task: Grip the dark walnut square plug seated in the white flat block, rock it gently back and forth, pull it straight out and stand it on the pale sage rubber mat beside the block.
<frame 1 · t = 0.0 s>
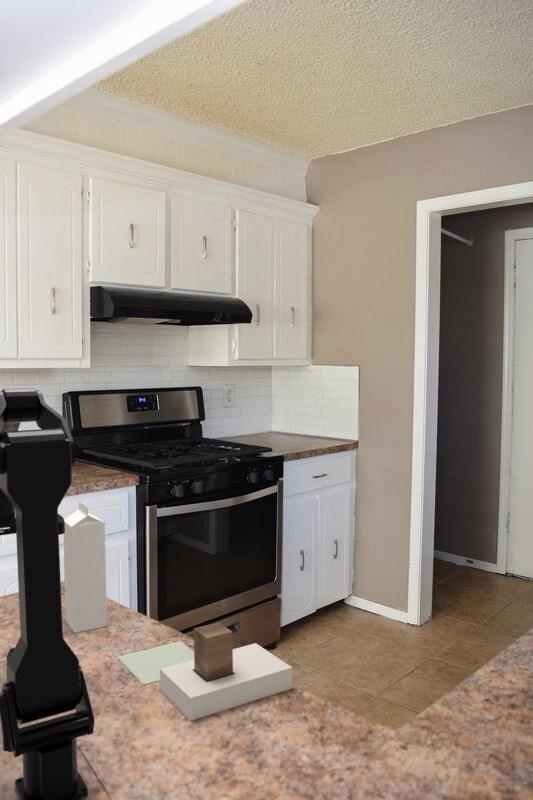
mat: (163, 664, 106), on the countertop
milk: (86, 625, 123), on the countertop
plug: (213, 692, 96), resting on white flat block
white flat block: (226, 692, 97), on the countertop
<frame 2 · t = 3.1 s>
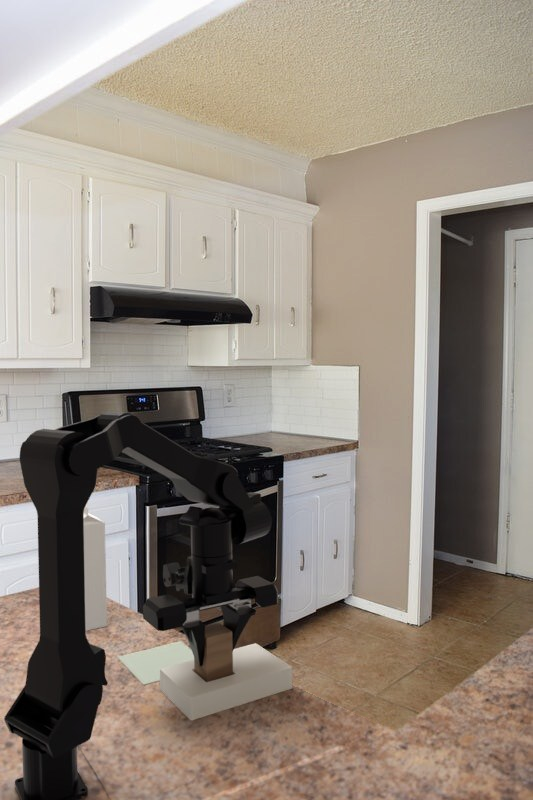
hand: (213, 661, 96), 5 cm above the countertop, tool pointing down, fingers closed on plug, 4 cm apart
plug: (213, 692, 96), point 1 cm above the countertop, touching gripper, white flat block
everything else where it was.
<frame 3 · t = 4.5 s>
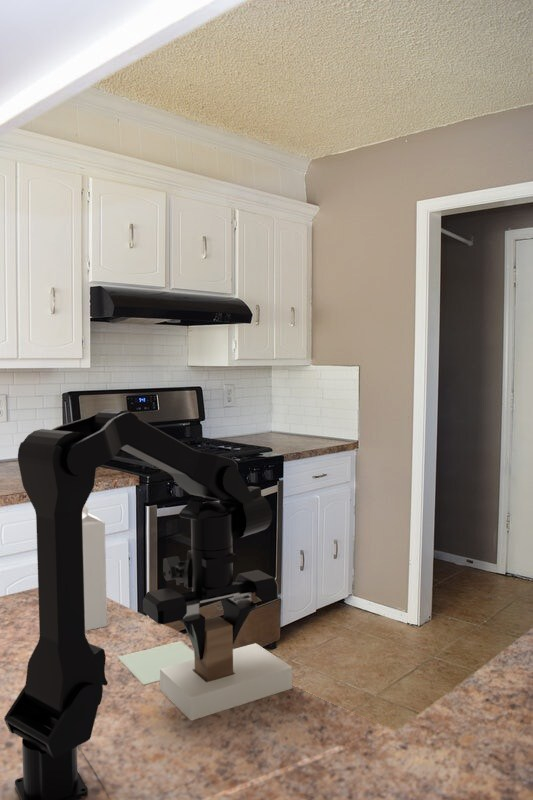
hand: (213, 654, 96), 6 cm above the countertop, tool pointing down, fingers closed on plug, 4 cm apart
plug: (214, 686, 96), point 1 cm above the countertop, touching gripper
everything else where it was.
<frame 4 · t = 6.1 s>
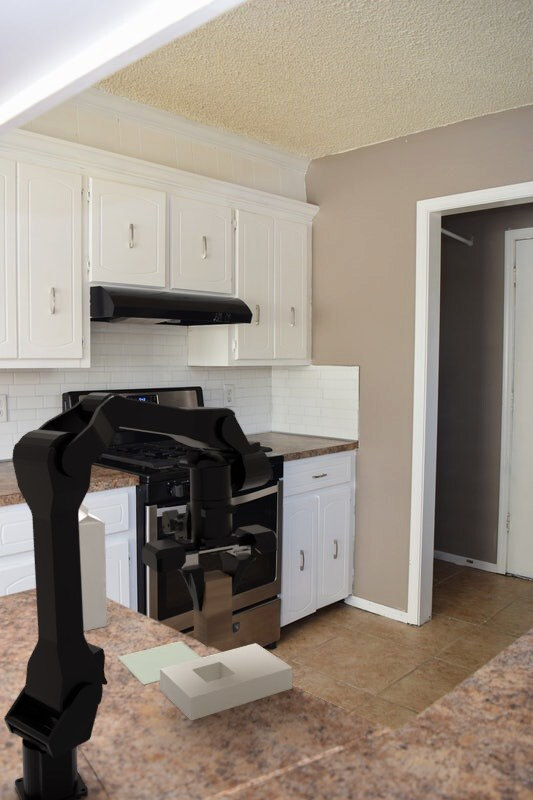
hand: (212, 607, 95), 13 cm above the countertop, tool pointing down, fingers closed on plug, 4 cm apart
plug: (213, 638, 95), point 8 cm above the countertop, touching gripper
everything else where it was.
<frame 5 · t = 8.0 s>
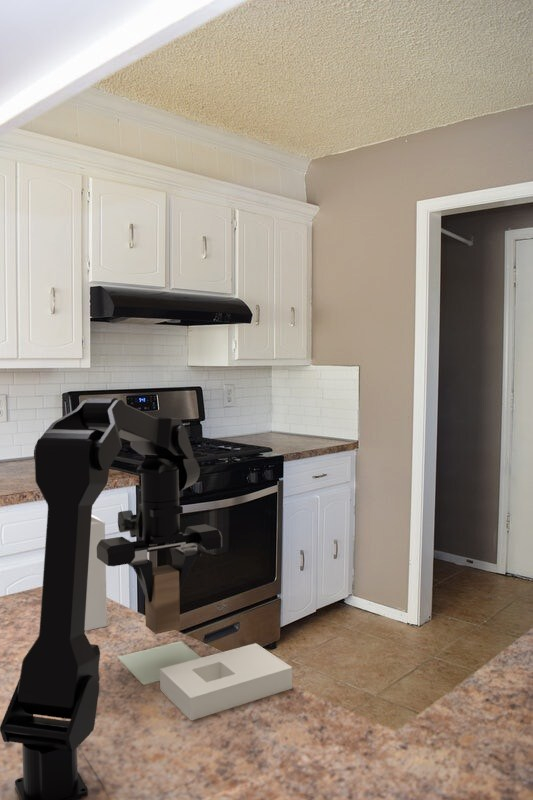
hand: (162, 598, 105), 11 cm above the countertop, tool pointing down, fingers closed on plug, 4 cm apart
plug: (162, 627, 105), point 6 cm above the countertop, touching gripper
everything else where it was.
when the fingers open (6 cm above the countertop, at t = 9.4 s): plug drops 1 cm, resting on mat.
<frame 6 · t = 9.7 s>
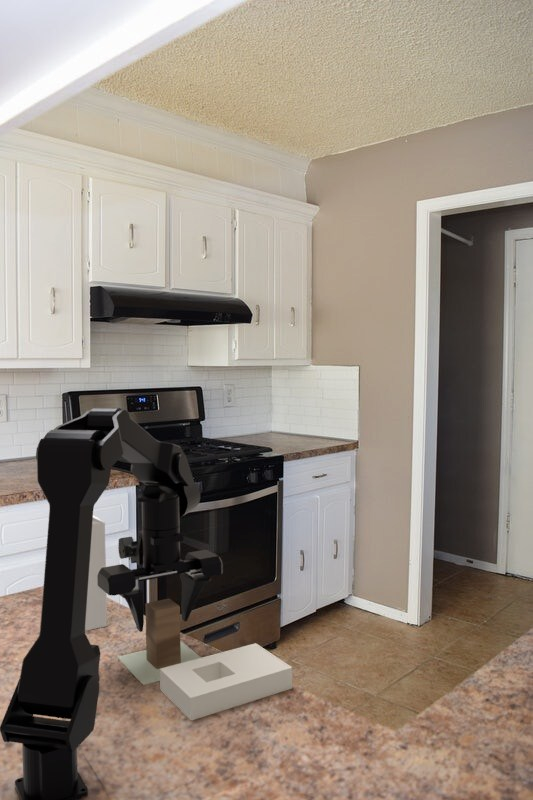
hand: (162, 625, 105), 6 cm above the countertop, tool pointing down, fingers open, 7 cm apart
plug: (163, 661, 106), point 1 cm above the countertop, touching mat
everything else where it was.
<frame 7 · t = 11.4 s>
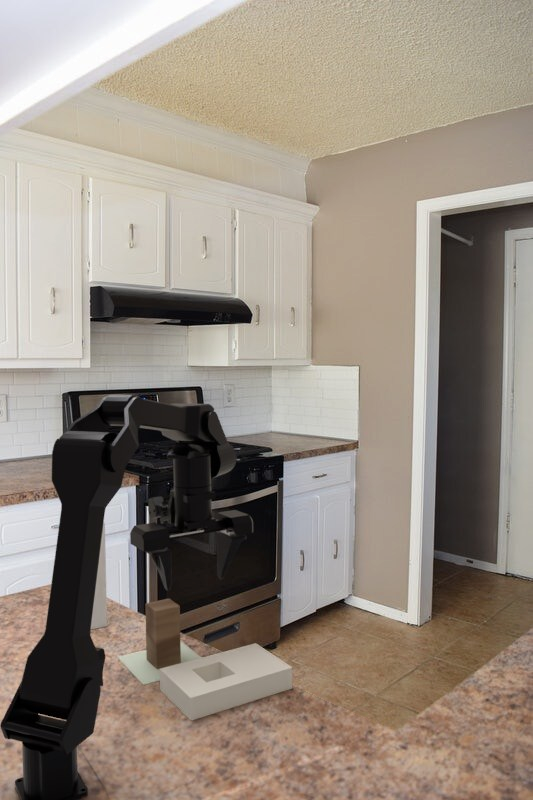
hand: (194, 584, 106), 13 cm above the countertop, tool pointing down, fingers open, 9 cm apart
nothing on the countertop moved.
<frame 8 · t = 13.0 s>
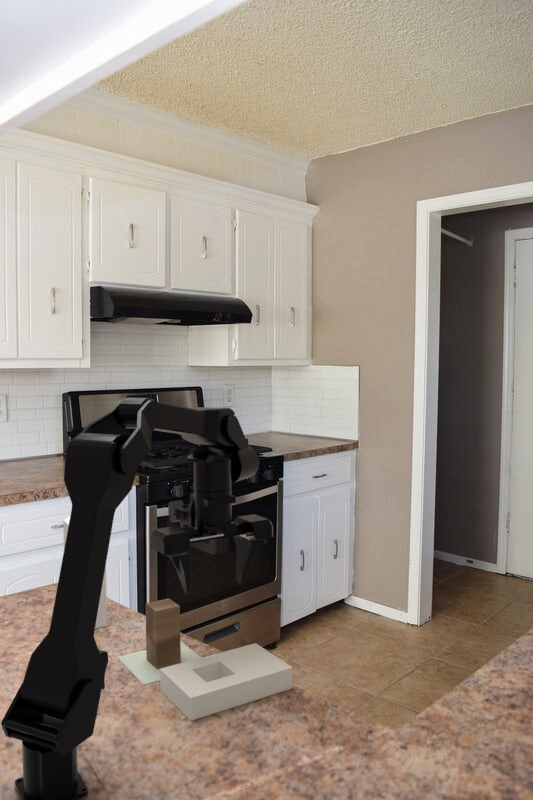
hand: (214, 588, 106), 12 cm above the countertop, tool pointing down, fingers open, 9 cm apart
nothing on the countertop moved.
at the end: plug inside the target area on the mat (0.0 cm from its centre), point 0.6 cm above the mat's base; plug tilted 0°; the gripper is holding nothing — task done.
